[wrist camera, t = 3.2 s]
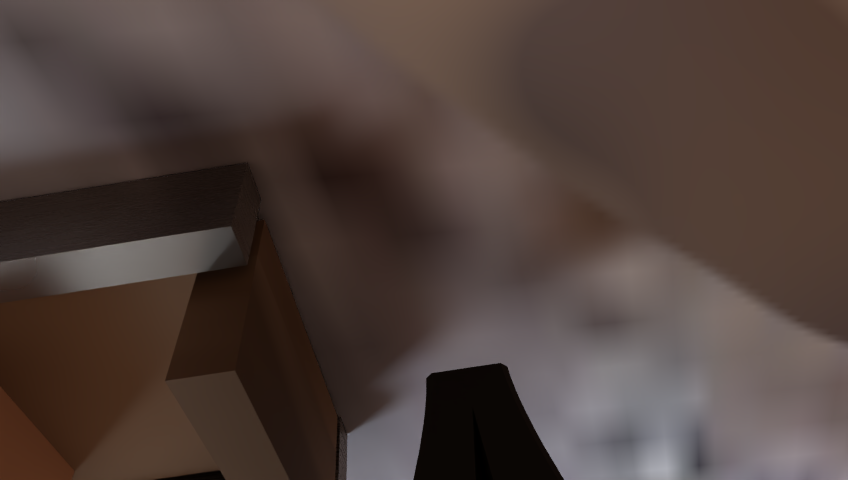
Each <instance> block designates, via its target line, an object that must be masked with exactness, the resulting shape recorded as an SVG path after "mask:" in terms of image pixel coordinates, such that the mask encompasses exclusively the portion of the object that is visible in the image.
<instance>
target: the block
mask: <svg viewBox="0 0 848 480" xmlns="http://www.w3.org/2000/svg"><path fill="white" fill-rule="evenodd" d="M74 472H75V471H74V470H73V469H72V468H71V466H70V465H69V464H68V463H67V462H66V461H65V460H64V458H63V457H62V456H61V455H60V454H59V453H58V452H57V450H56V449H55V448H54V447H53V446H52V445H51V444H50V442H49V441H48V440H47V439H46V438H45V437H44V436H43V434H42V433H41V432H40V431H39V430H38V429H37V428H36V427H35V425H34V424H33V423H32V422H31V421H30V420H29V419H28V417H27V416H26V415H25V414H24V413H23V412H22V411H21V409H20V408H19V407H18V406H17V405H16V404H15V403H14V401H13V400H12V399H11V398H10V397H9V396H8V395H7V393H6V392H5V391H4V390H3V389H2V388H1V387H0V480H72V477H73V475H74Z"/></svg>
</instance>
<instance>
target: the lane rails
mask: <svg viewBox="0 0 848 480" xmlns="http://www.w3.org/2000/svg"><path fill="white" fill-rule="evenodd" d="M260 203H261V198H260V196H259V193H258V190H257V187H256V185H255V182H254V179H253V177H252V174H251V171H250V168H249V166H248V163H243V164H237V165H231V166H225V167H218V168H212V169H206V170H199V171H193V172H187V173H180V174H174V175H168V176H161V177H155V178H149V179H143V180H136V181H130V182H124V183H117V184H111V185H105V186H98V187H92V188H86V189H80V190H73V191H67V192H61V193H54V194H48V195H42V196H35V197H29V198H23V199H16V200H10V201H4V202H0V303H5V302H12V301H18V300H25V299H31V298H38V297H44V296H51V295H57V294H64V293H70V292H77V291H83V290H90V289H96V288H103V287H109V286H116V285H122V284H129V283H135V282H142V281H148V280H155V279H161V278H168V277H174V276H181V275H187V274H194V273H200V272H207V271H213V270H220V269H226V268H233V267H239V266H246V265H247V264H248V260H249V255H250V250H251V245H252V241H253V236H254V231H255V227H256V222H257V217H258V212H259V208H260ZM346 472H347V434H346V431H345V428H344V425H343V423H342V420H341V417H337V443H336V470H335V480H346ZM155 480H226V479H225V478H224V476H223V474H222V473H221V471H220V470H217V471H210V472H203V473H196V474H189V475H183V476H176V477H169V478H162V479H155Z"/></svg>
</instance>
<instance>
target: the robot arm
mask: <svg viewBox="0 0 848 480" xmlns="http://www.w3.org/2000/svg"><path fill="white" fill-rule="evenodd" d="M413 480H564V479H563V477H562V476H561V474H560V472H559V471H558V469H557V467H556V466H555V464H554V462H553V461H552V459H551V457H550V456H549V454H548V452H547V450H546V449H545V447H544V445H543V444H542V442H541V440H540V438H539V436H538V435H537V433H536V431H535V429H534V427H533V425H532V423H531V421H530V419H529V417H528V415H527V413H526V411H525V409H524V407H523V405H522V403H521V401H520V399H519V396H518V394H517V392H516V389H515V387H514V384H513V382H512V379H511V377H510V374H509V371H508V368H507V366H505V365H503V364H501V363H497V364H491V365H484V366H477V367H470V368H464V369H457V370H450V371H443V372H437V373H432V374H431V375H429V376H428V377H427V378H426V407H425V417H424V425H423V431H422V438H421V444H420V450H419V455H418V460H417V465H416V470H415V475H414V479H413Z"/></svg>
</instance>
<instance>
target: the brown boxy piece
mask: <svg viewBox="0 0 848 480" xmlns="http://www.w3.org/2000/svg"><path fill="white" fill-rule="evenodd" d="M0 387H1V388H2V389H3V390H4V391H5V392H6V393H7V395H8V396H9V397H10V398H11V399H12V400H13V401H14V403H15V404H16V405H17V406H18V407H19V408H20V409H21V411H22V412H23V413H24V414H25V415H26V416H27V417H28V419H29V420H30V421H31V422H32V423H33V424H34V425H35V427H36V428H37V429H38V430H39V431H40V432H41V433H42V434H43V436H44V437H45V438H46V439H47V440H48V441H49V442H50V444H51V445H52V446H53V447H54V448H55V449H56V450H57V452H58V453H59V454H60V455H61V456H62V457H63V458H64V460H65V461H66V462H67V463H68V464H69V465H70V466H71V468H72V469H73V470H74V471H75V472H74V475H73V477H72V480H155V479H162V478H169V477H176V476H183V475H189V474H196V473H203V472H210V471H217V470H220V471H221V473H222V474H223V476H224V478H225V479H226V480H335V470H336V443H337V414H336V411H335V408H334V406H333V403H332V400H331V398H330V395H329V392H328V390H327V387H326V384H325V381H324V379H323V376H322V373H321V371H320V368H319V365H318V363H317V360H316V357H315V354H314V352H313V349H312V346H311V344H310V341H309V338H308V336H307V333H306V330H305V327H304V325H303V322H302V319H301V317H300V314H299V311H298V309H297V306H296V303H295V300H294V298H293V295H292V292H291V290H290V287H289V284H288V282H287V279H286V276H285V273H284V271H283V268H282V265H281V263H280V260H279V257H278V254H277V252H276V249H275V246H274V244H273V241H272V238H271V236H270V233H269V230H268V227H267V225H266V222H265V220H260V221H257V222H256V227H255V231H254V236H253V241H252V245H251V250H250V255H249V260H248V264H247V265H246V266H239V267H233V268H226V269H220V270H213V271H207V272H200V273H194V274H187V275H181V276H174V277H168V278H161V279H155V280H148V281H142V282H135V283H129V284H122V285H116V286H109V287H103V288H96V289H90V290H83V291H77V292H70V293H64V294H57V295H51V296H44V297H38V298H31V299H25V300H18V301H12V302H5V303H0Z"/></svg>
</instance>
